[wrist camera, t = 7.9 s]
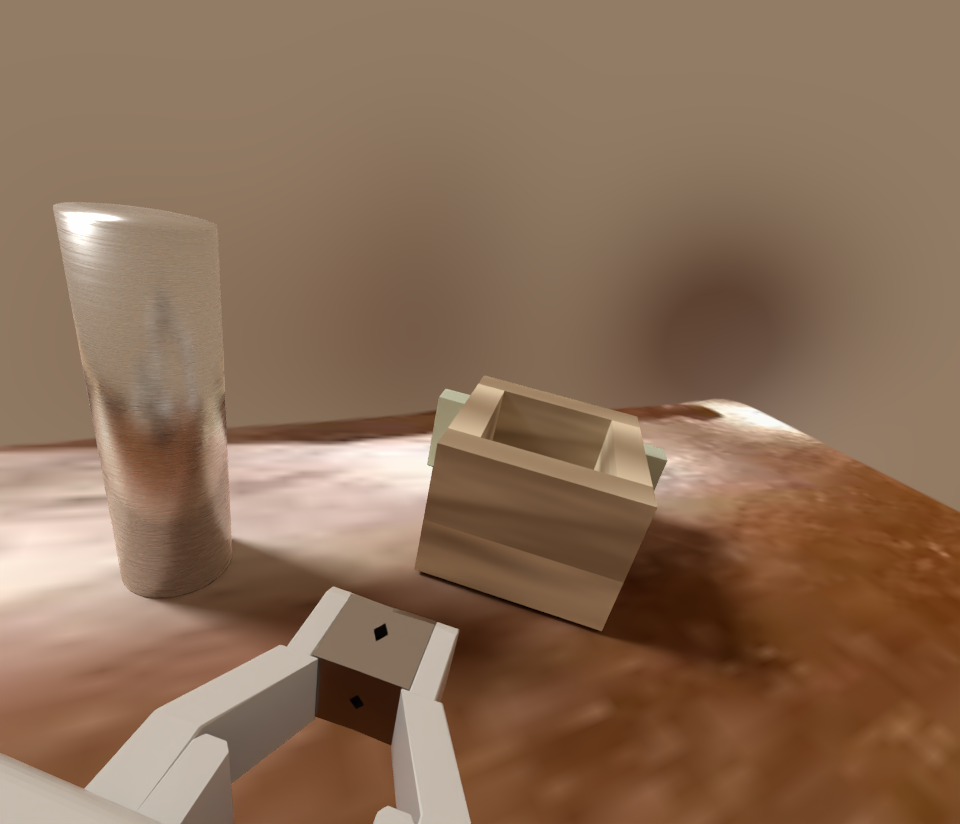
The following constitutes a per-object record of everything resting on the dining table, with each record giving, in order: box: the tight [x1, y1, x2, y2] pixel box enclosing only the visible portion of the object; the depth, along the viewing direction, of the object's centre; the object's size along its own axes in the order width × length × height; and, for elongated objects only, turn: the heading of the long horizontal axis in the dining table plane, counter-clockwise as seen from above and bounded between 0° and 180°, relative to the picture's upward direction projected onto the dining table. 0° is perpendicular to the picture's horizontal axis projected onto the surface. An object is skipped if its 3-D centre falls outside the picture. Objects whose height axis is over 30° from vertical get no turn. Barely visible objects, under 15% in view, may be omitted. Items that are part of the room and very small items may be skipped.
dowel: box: [53, 202, 232, 598], centre depth 17 cm, size 4×4×14 cm
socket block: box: [415, 375, 657, 631], centre depth 24 cm, size 9×9×7 cm
